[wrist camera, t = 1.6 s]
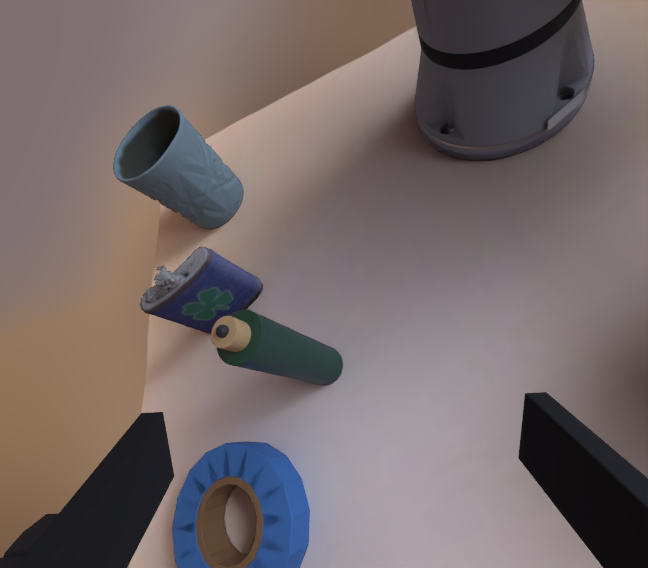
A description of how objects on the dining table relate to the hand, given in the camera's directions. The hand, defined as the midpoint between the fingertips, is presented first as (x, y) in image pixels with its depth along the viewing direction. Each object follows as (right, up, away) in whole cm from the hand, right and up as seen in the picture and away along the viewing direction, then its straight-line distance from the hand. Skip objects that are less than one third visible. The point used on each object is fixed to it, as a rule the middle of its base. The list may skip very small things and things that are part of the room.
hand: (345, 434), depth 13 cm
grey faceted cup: (-15, +17, +36) cm, 42 cm away
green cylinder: (-1, -2, +20) cm, 20 cm away
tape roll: (-7, -15, +18) cm, 25 cm away
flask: (-11, +3, +28) cm, 30 cm away
